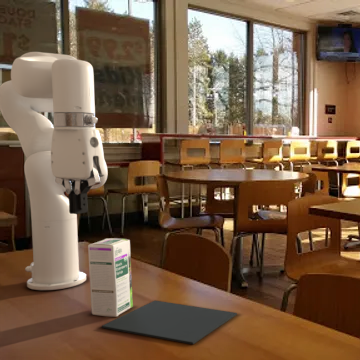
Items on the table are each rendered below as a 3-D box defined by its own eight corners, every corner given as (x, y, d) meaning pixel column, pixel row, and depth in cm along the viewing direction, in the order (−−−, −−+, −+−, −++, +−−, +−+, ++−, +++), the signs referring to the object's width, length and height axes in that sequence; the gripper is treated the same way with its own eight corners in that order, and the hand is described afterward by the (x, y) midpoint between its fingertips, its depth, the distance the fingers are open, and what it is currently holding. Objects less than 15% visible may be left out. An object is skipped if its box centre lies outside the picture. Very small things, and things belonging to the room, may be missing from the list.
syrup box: (116, 317, 97) (114, 244, 96) (90, 315, 98) (87, 243, 97) (133, 307, 103) (131, 238, 101) (107, 305, 104) (105, 237, 102)
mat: (101, 327, 92) (101, 325, 92) (154, 302, 106) (154, 300, 106) (192, 344, 85) (192, 342, 85) (236, 314, 99) (236, 312, 99)
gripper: (118, 123, 100) (121, 212, 102) (62, 123, 106) (66, 208, 107) (89, 122, 93) (92, 218, 95) (31, 122, 99) (35, 213, 100)
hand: (78, 212), depth 101 cm, fingers closed
